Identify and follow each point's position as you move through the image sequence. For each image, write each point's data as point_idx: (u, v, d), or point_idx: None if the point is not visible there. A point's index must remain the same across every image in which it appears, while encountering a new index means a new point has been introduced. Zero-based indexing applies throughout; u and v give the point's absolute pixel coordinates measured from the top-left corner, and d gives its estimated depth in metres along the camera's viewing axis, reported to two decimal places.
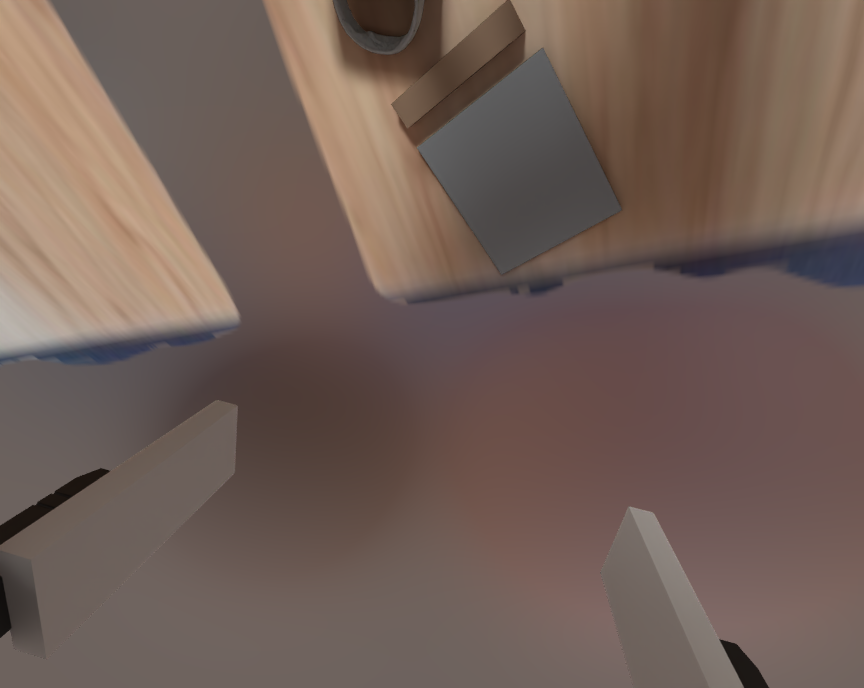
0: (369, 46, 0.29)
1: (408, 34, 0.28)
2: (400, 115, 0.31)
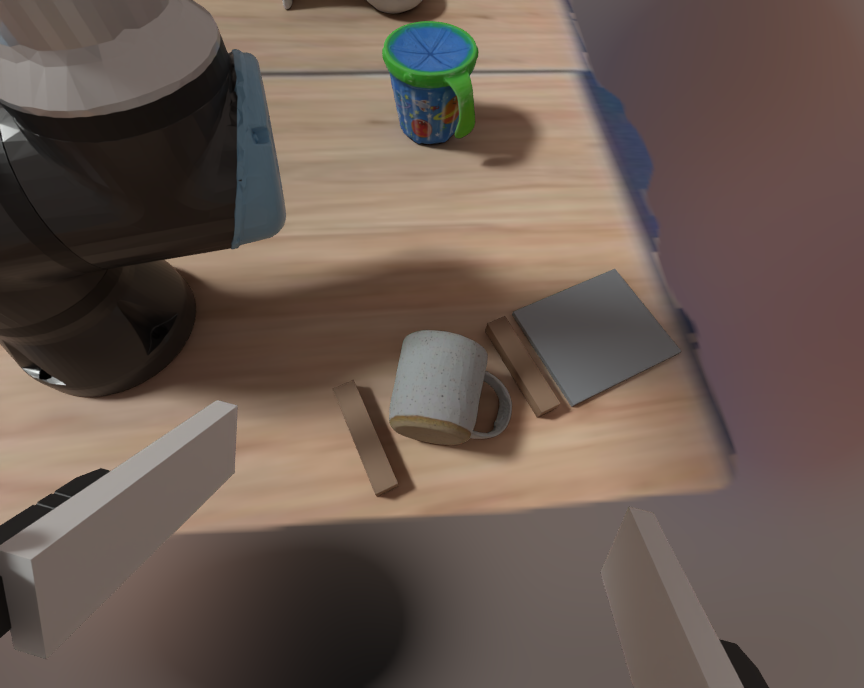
0: (505, 422, 0.37)
1: (502, 387, 0.38)
2: (550, 406, 0.38)
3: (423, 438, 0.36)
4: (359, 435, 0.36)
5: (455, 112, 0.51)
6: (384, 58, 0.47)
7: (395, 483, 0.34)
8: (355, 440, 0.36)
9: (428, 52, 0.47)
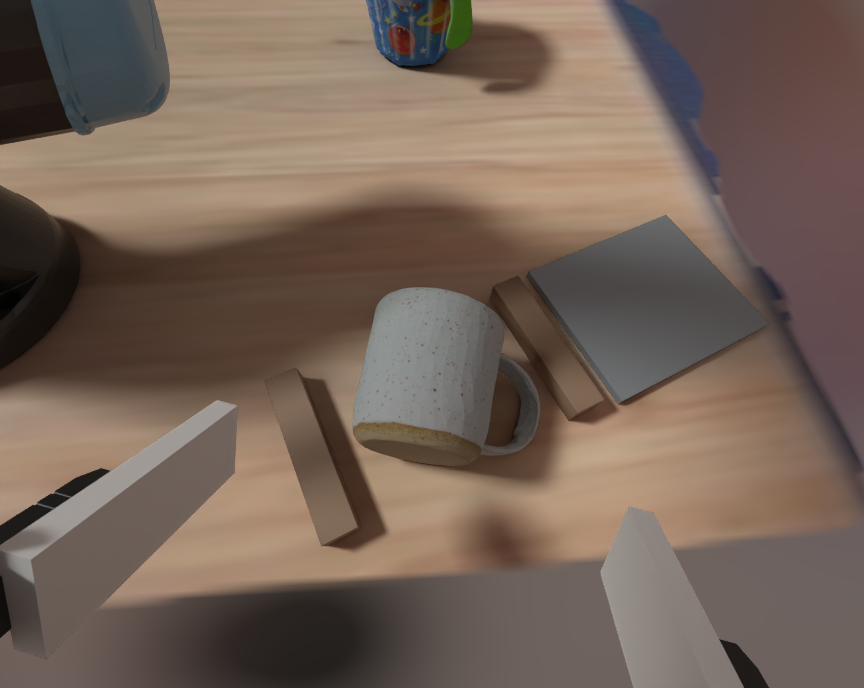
0: (531, 430, 0.25)
1: (526, 378, 0.25)
2: (590, 403, 0.25)
3: (407, 456, 0.23)
4: (301, 451, 0.23)
5: (447, 17, 0.38)
6: None
7: (353, 527, 0.22)
8: (294, 459, 0.23)
9: None
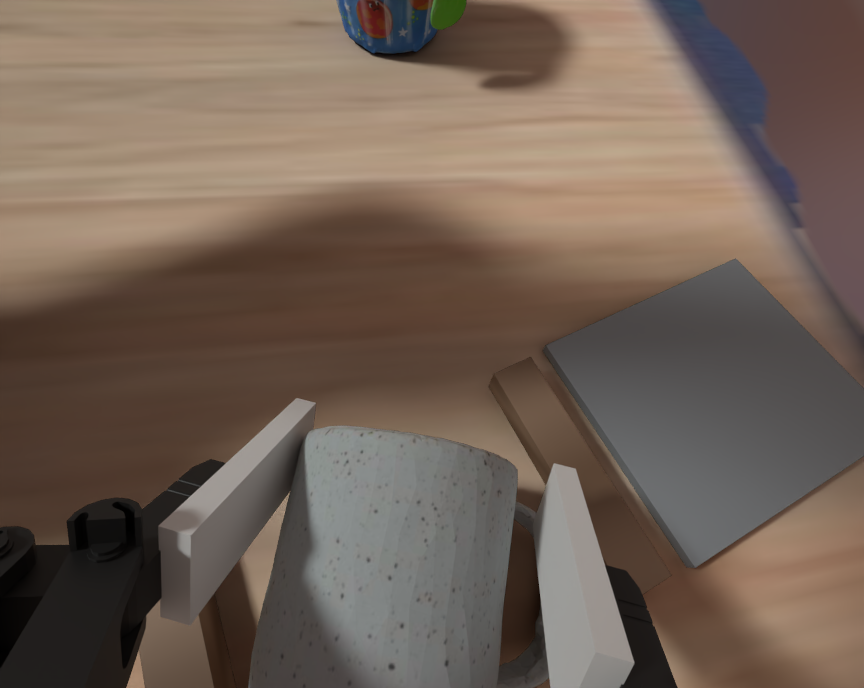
0: None
1: None
2: (649, 584, 0.16)
3: None
4: (167, 685, 0.14)
5: None
6: None
7: None
8: None
9: None
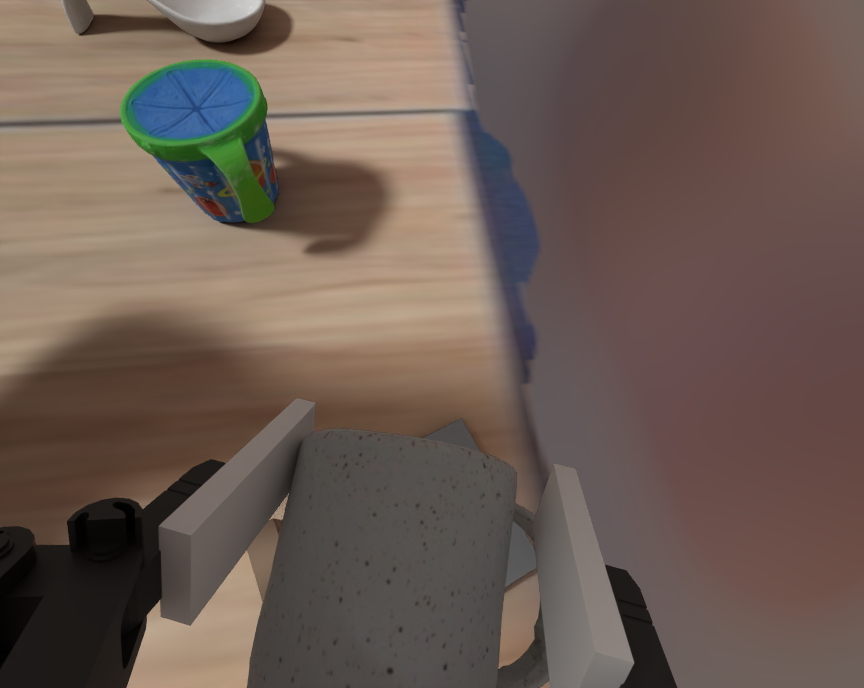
0: None
1: None
2: None
3: None
4: None
5: None
6: None
7: None
8: None
9: (194, 105, 0.33)
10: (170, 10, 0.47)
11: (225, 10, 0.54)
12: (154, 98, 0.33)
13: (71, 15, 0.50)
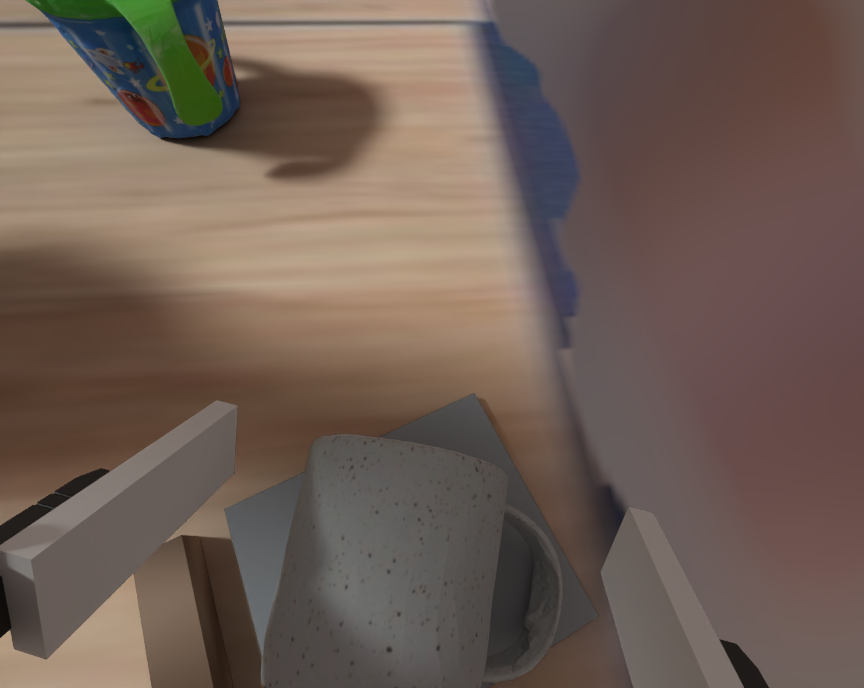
0: (550, 625, 0.16)
1: (540, 538, 0.17)
2: None
3: None
4: None
5: None
6: None
7: None
8: None
9: None
10: None
11: None
12: None
13: None
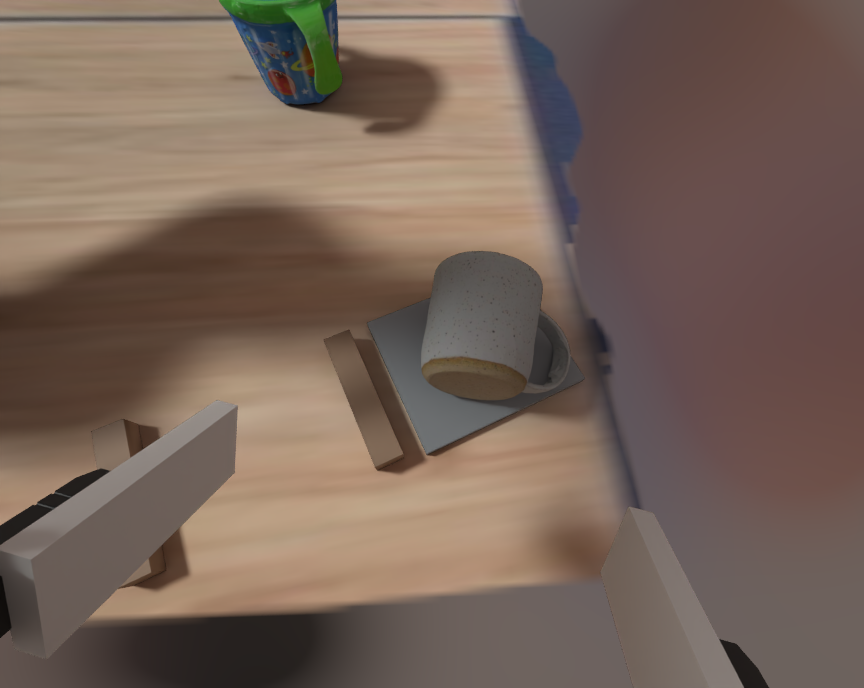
0: (563, 373, 0.30)
1: (558, 330, 0.30)
2: (388, 458, 0.27)
3: (462, 392, 0.29)
4: None
5: None
6: None
7: (147, 572, 0.24)
8: None
9: None
10: None
11: None
12: None
13: None
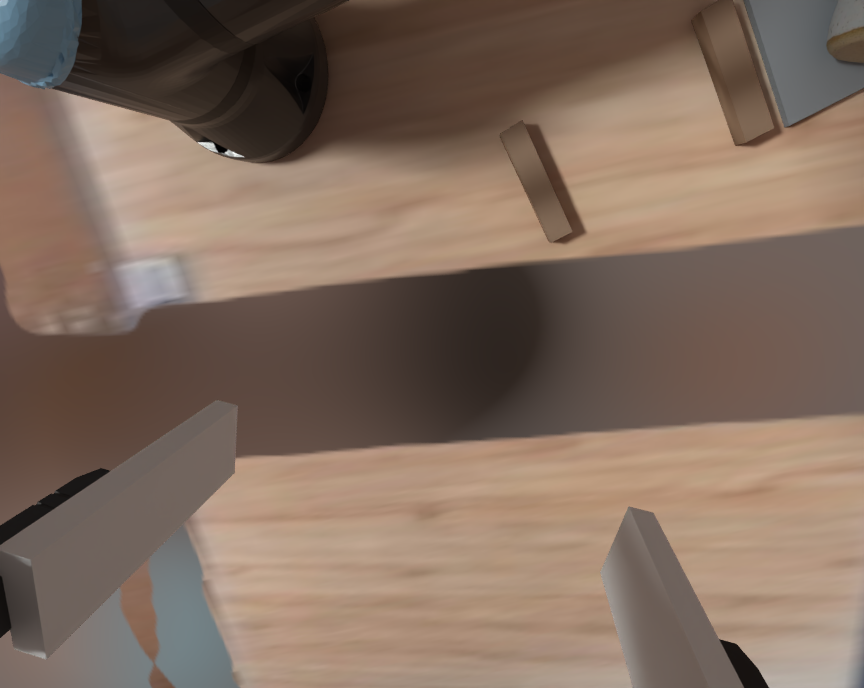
0: None
1: None
2: (760, 133, 0.32)
3: (861, 56, 0.29)
4: (533, 185, 0.35)
5: None
6: None
7: (570, 231, 0.36)
8: (528, 191, 0.36)
9: None
10: None
11: None
12: None
13: None
